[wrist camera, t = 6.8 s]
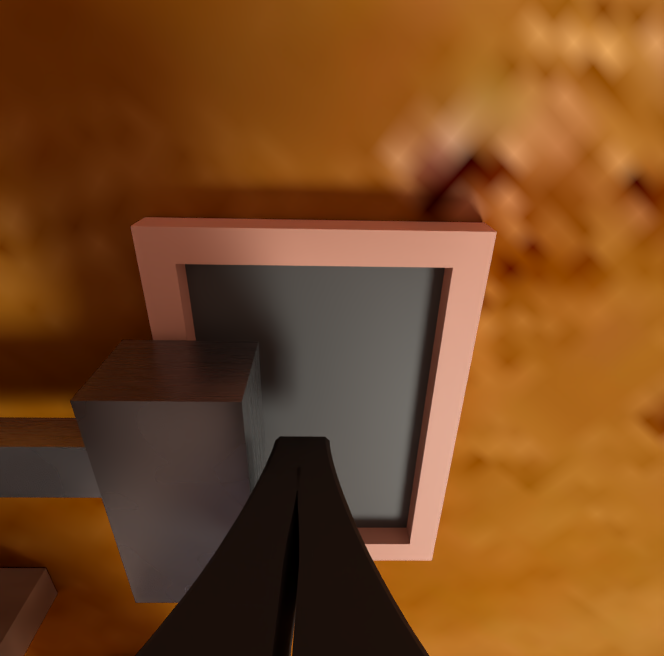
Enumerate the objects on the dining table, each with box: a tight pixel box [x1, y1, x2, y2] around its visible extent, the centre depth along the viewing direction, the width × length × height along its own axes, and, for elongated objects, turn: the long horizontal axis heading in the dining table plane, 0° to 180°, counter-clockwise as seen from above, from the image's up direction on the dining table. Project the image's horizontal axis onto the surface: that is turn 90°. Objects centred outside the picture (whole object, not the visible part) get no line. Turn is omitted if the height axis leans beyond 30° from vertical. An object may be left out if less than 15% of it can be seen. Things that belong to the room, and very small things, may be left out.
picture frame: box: [130, 217, 497, 560], centre depth 12 cm, size 11×8×1 cm
